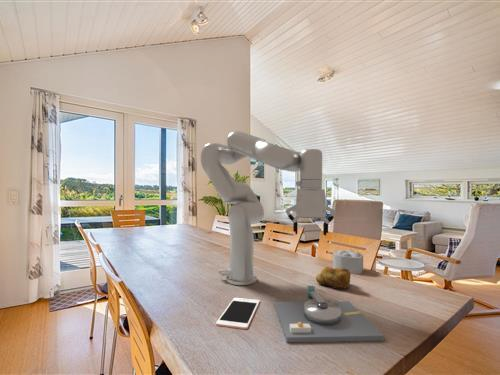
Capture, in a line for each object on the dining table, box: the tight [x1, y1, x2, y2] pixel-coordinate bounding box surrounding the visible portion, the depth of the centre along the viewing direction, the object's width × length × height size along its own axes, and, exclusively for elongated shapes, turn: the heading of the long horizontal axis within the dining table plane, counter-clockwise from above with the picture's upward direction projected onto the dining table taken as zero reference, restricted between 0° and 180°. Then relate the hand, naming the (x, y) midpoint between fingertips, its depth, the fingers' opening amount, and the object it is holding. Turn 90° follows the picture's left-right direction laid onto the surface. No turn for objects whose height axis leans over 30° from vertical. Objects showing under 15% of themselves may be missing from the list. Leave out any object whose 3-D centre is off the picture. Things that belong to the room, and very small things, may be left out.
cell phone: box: [215, 297, 261, 330], centre depth 78 cm, size 9×18×1 cm, turn 167°
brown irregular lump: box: [315, 266, 351, 290], centre depth 102 cm, size 13×10×8 cm
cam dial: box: [304, 285, 341, 325], centre depth 77 cm, size 17×10×4 cm, turn 3°
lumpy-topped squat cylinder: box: [332, 249, 364, 275], centre depth 123 cm, size 10×13×9 cm
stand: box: [274, 300, 385, 343], centre depth 73 cm, size 24×20×3 cm
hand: (310, 234), depth 91 cm, fingers open, 9 cm apart
